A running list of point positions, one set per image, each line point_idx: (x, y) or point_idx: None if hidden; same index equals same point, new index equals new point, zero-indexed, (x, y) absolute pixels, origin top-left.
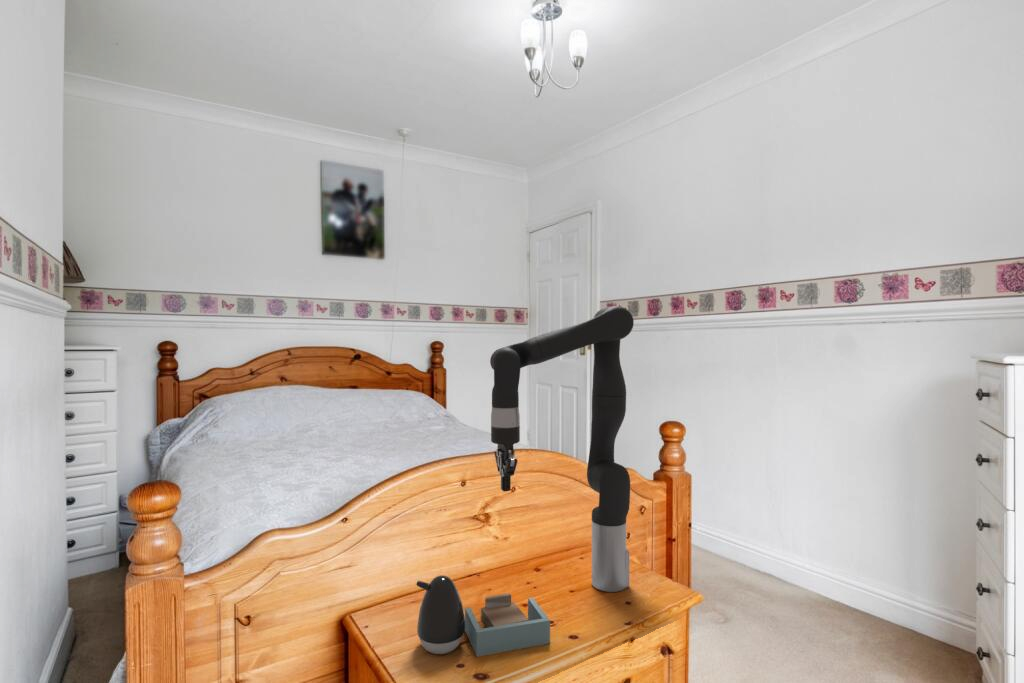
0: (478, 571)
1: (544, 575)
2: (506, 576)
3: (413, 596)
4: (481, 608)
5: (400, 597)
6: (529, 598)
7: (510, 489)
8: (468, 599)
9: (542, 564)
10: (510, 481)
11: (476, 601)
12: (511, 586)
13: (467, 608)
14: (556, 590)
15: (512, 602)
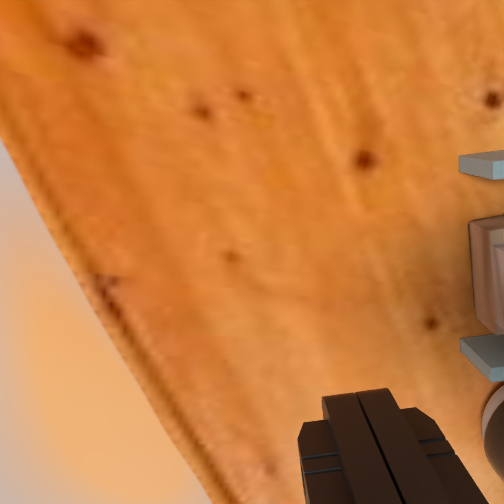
0: (82, 277)
1: (146, 30)
2: (137, 184)
3: (239, 469)
4: (499, 334)
5: (238, 499)
6: (495, 174)
7: (388, 389)
8: (289, 328)
9: (34, 9)
10: (425, 454)
11: (307, 306)
12: (222, 180)
13: (495, 375)
14: (285, 17)
15: (494, 235)
